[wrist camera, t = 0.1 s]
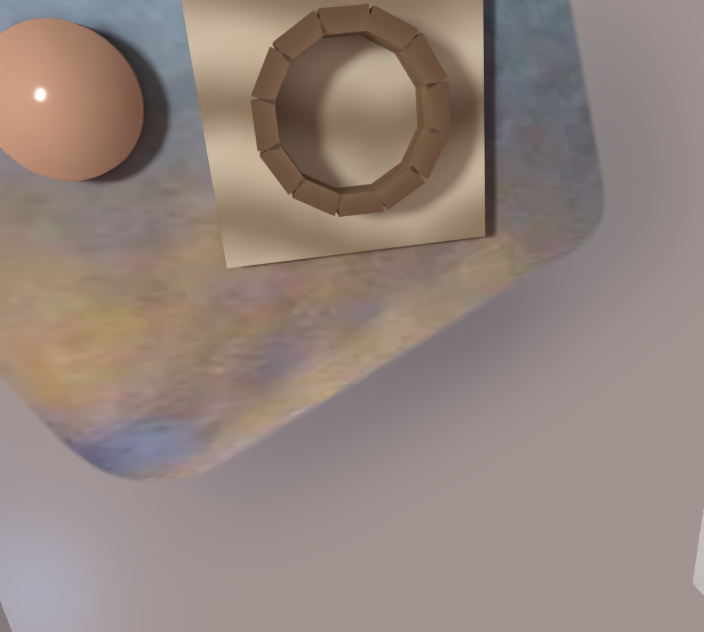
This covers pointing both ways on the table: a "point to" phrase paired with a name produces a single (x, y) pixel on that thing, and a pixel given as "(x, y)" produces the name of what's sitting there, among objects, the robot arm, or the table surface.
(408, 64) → the ring collar
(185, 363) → the table surface
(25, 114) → the peach domed part
